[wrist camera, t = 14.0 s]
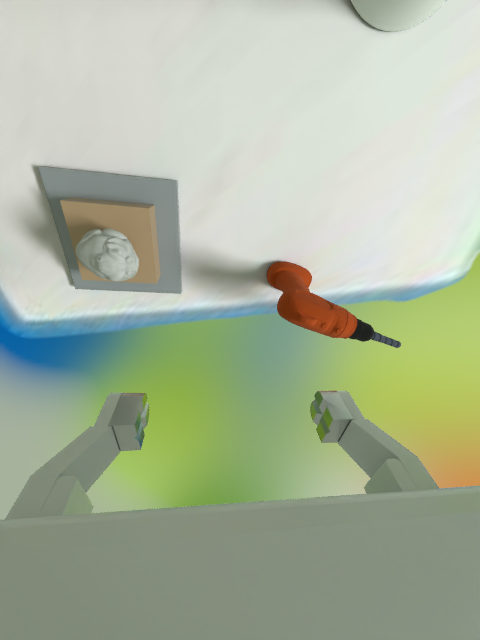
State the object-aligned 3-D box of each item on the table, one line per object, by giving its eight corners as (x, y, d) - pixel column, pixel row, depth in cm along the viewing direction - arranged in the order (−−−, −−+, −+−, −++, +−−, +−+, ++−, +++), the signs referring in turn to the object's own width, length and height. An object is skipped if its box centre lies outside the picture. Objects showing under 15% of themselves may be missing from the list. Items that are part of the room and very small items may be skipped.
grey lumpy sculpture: (147, 272, 33) (134, 296, 28) (93, 263, 32) (66, 285, 26) (149, 228, 30) (134, 244, 24) (89, 215, 29) (57, 229, 23)
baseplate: (43, 166, 29) (20, 166, 26) (177, 180, 31) (173, 182, 28) (78, 286, 38) (65, 298, 34) (181, 290, 40) (178, 302, 36)
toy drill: (354, 315, 44) (399, 372, 31) (261, 280, 41) (268, 328, 28) (371, 293, 42) (426, 345, 29) (273, 254, 39) (286, 293, 26)
